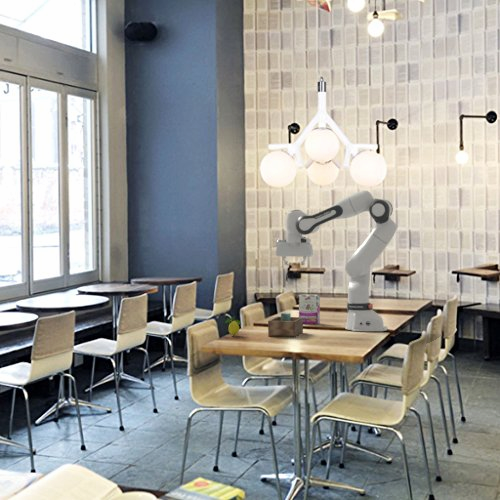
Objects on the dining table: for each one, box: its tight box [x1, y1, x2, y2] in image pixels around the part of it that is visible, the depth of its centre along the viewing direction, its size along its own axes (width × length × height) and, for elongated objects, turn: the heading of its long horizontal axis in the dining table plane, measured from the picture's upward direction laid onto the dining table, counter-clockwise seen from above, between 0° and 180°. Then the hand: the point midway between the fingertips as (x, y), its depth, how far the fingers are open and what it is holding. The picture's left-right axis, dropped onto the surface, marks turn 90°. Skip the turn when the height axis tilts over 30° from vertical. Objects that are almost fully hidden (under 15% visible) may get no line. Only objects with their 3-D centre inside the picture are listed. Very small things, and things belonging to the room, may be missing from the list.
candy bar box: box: [298, 294, 321, 325], centre depth 451 cm, size 11×5×16 cm, turn 68°
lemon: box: [224, 317, 243, 337], centre depth 409 cm, size 7×6×10 cm
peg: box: [280, 312, 292, 321], centre depth 411 cm, size 4×4×10 cm
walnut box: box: [267, 316, 304, 338], centre depth 412 cm, size 14×17×8 cm
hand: (294, 264), depth 437 cm, fingers open, 8 cm apart
